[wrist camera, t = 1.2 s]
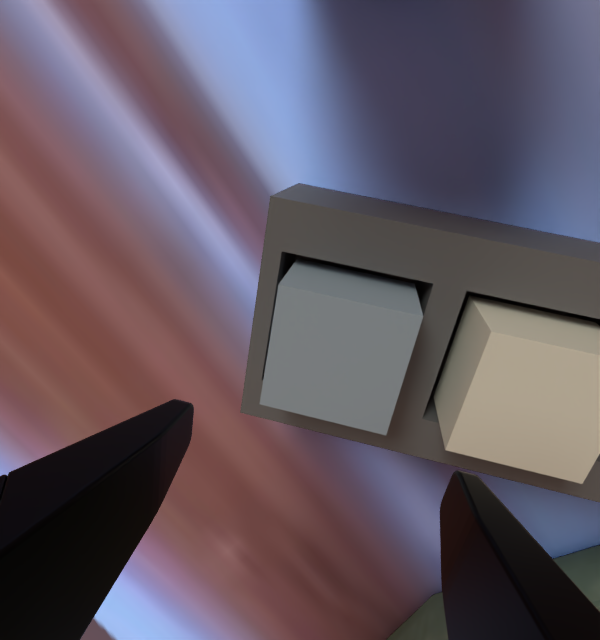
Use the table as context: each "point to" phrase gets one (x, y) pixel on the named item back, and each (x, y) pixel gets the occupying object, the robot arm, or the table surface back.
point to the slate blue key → (340, 345)
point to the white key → (522, 389)
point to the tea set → (429, 620)
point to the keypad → (421, 300)
